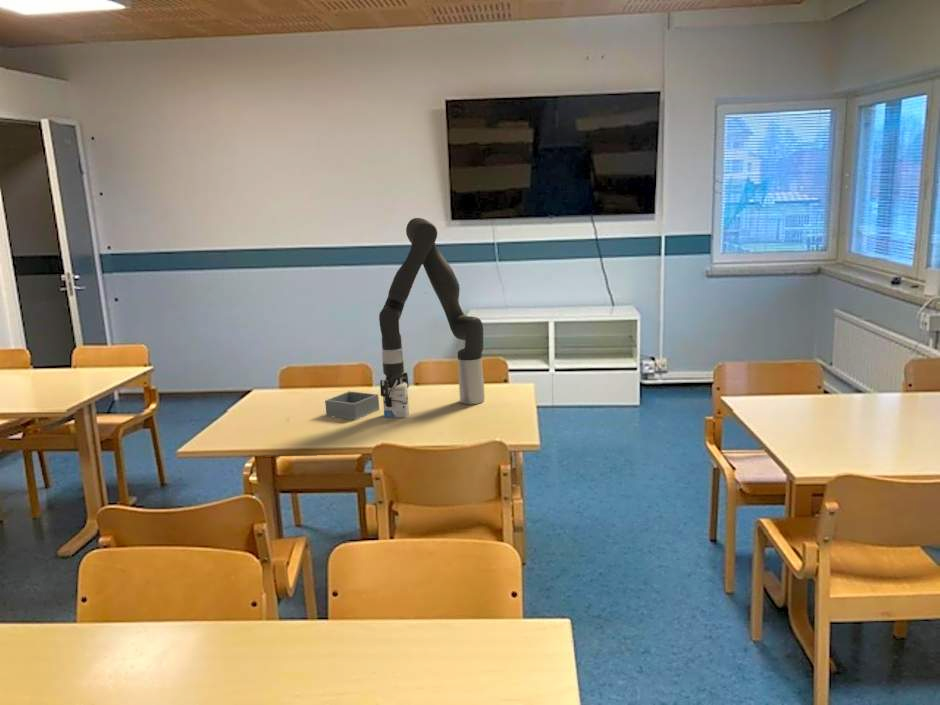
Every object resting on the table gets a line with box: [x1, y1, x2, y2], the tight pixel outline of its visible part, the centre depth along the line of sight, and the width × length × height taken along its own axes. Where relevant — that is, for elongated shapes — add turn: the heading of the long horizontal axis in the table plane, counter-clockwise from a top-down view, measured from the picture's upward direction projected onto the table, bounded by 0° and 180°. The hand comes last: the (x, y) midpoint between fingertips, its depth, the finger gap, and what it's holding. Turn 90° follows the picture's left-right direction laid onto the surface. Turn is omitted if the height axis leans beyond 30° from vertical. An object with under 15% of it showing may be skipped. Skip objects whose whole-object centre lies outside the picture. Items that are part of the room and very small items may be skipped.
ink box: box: [382, 382, 410, 418], centre depth 268 cm, size 9×5×12 cm, turn 84°
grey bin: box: [324, 390, 380, 420], centre depth 275 cm, size 14×14×6 cm
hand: (395, 403), depth 267 cm, fingers open, 8 cm apart
